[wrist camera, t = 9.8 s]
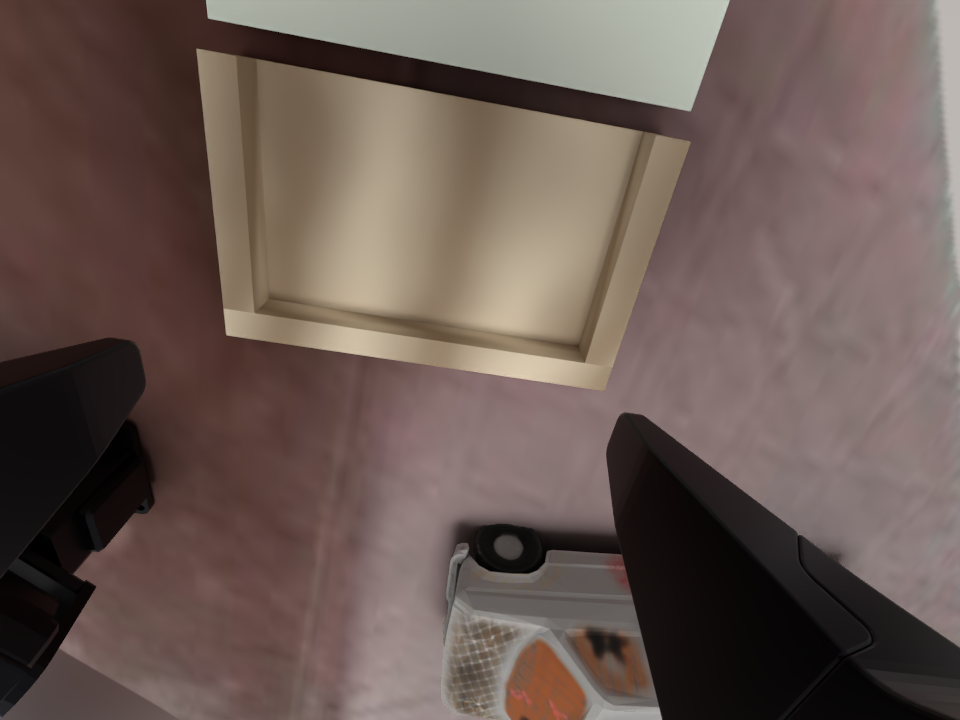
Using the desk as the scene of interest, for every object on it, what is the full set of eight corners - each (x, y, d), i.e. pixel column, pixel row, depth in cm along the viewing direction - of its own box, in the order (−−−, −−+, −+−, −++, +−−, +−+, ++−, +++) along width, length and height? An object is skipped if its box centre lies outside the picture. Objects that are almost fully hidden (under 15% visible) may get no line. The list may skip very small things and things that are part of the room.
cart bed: (257, 306, 22) (226, 335, 20) (240, 55, 17) (196, 48, 15) (590, 357, 23) (604, 390, 21) (661, 134, 19) (690, 141, 16)
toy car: (453, 515, 29) (439, 696, 20) (847, 547, 30) (995, 733, 21) (442, 621, 34) (427, 802, 25) (778, 645, 35) (875, 828, 26)
